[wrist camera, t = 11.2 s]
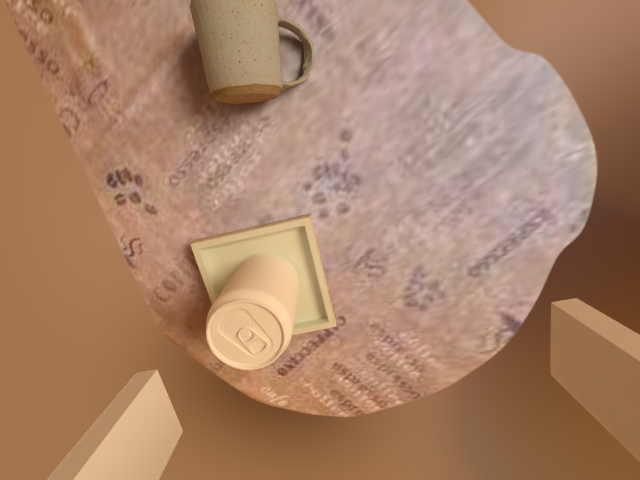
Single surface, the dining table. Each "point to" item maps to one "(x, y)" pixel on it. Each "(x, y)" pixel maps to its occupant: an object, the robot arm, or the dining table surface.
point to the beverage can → (254, 313)
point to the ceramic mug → (244, 49)
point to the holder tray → (281, 240)
